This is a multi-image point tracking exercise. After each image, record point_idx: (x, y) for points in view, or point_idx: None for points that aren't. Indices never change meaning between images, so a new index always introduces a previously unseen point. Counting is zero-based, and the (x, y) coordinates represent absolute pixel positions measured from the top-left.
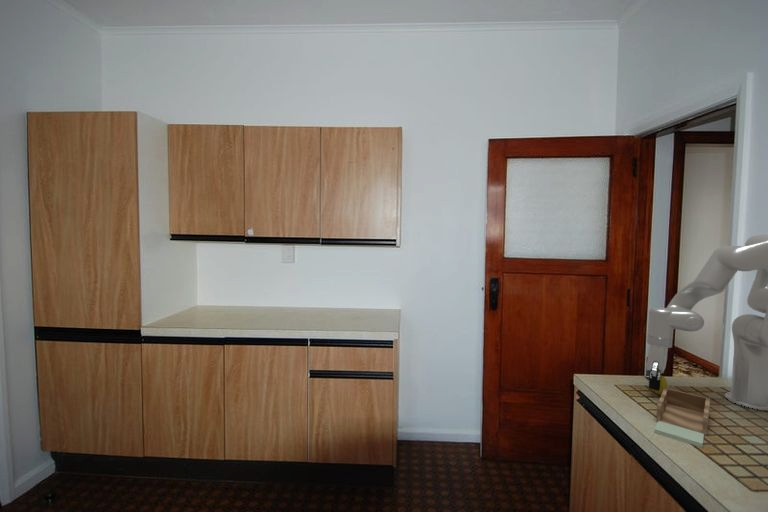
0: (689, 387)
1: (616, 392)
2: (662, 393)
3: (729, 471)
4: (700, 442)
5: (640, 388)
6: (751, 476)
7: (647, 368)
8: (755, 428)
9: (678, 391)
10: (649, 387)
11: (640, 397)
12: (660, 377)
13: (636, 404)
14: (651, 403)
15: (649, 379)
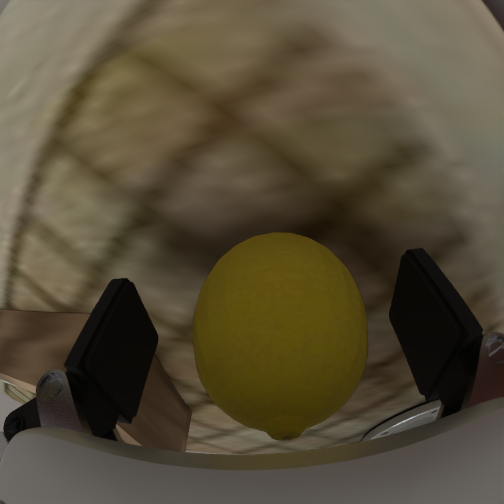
0: (487, 326)
1: (48, 59)
2: (16, 380)
3: (8, 386)
4: (3, 380)
5: (310, 126)
6: (26, 402)
7: (3, 455)
8: (216, 450)
9: (121, 435)
10: (114, 286)
11: (96, 196)
12: (238, 421)
13: (8, 221)
14: (78, 268)
15: (74, 348)
